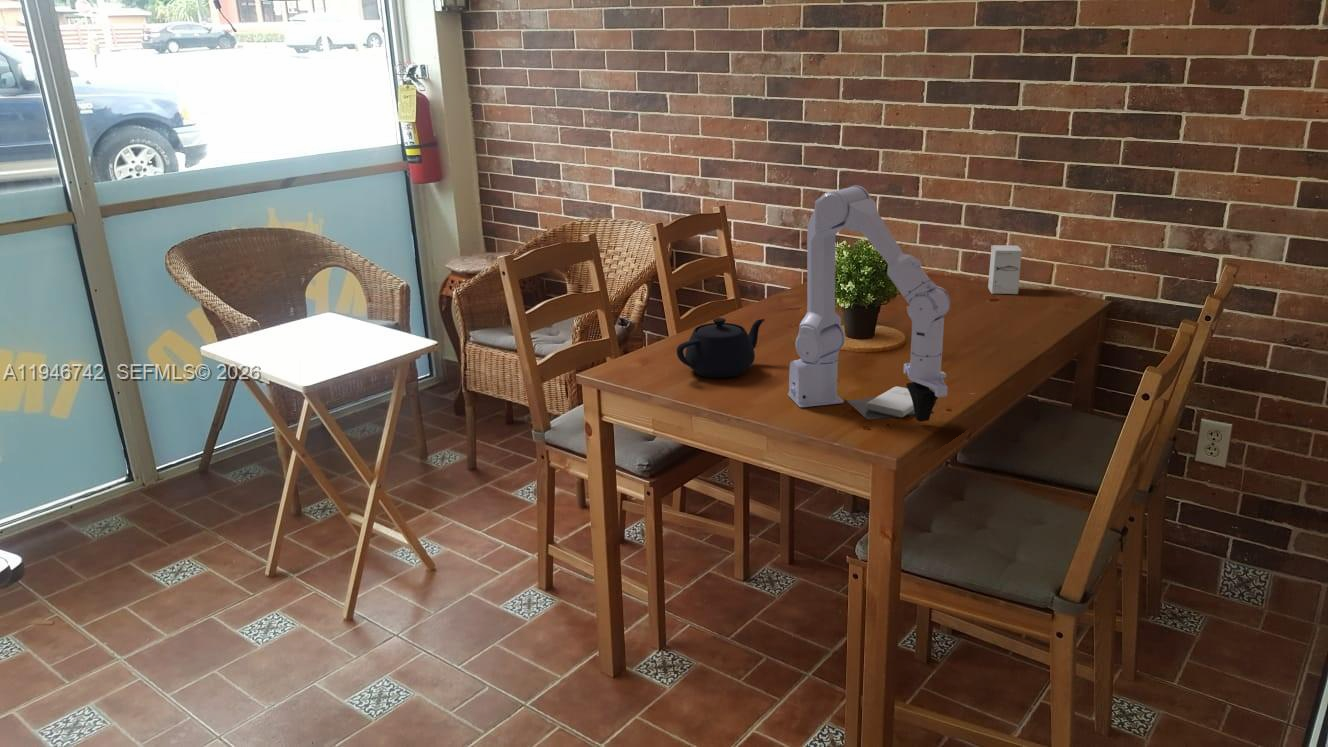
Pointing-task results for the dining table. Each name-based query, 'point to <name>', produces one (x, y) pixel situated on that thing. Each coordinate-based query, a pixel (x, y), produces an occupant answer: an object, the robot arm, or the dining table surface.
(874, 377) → the dining table surface
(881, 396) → the external hard drive
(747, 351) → the teapot
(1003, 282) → the supplement box
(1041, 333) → the dining table surface
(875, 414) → the bay plate
